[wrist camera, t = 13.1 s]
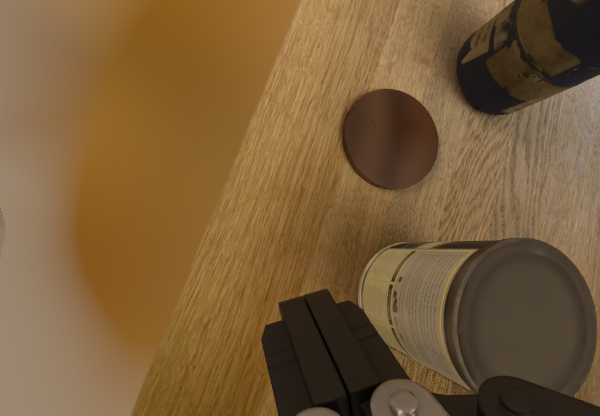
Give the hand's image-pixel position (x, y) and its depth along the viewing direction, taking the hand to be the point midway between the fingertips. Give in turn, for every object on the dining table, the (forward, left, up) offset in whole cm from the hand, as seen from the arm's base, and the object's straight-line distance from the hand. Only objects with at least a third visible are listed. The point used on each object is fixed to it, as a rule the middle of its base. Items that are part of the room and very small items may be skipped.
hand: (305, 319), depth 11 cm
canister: (+26, +21, -22) cm, 40 cm away
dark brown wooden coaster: (+14, +13, -21) cm, 29 cm away
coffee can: (+16, -2, -22) cm, 27 cm away
